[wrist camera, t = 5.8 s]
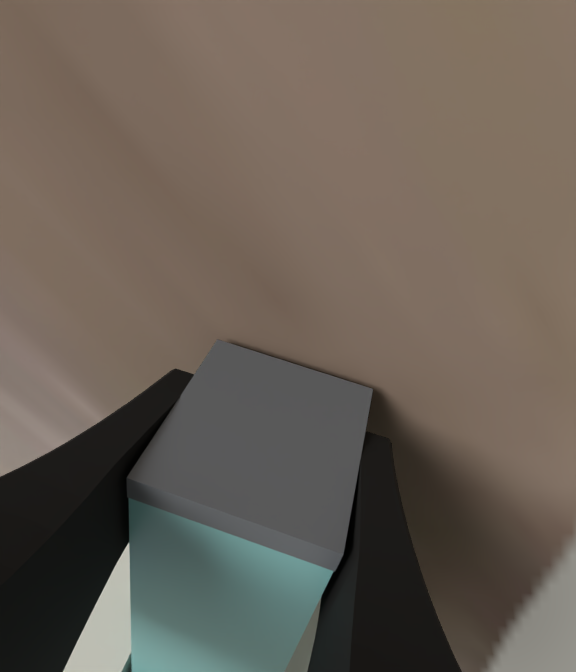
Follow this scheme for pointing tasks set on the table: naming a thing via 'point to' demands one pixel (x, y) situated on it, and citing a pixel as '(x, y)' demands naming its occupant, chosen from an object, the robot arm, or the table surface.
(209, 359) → the plug
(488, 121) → the table surface
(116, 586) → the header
